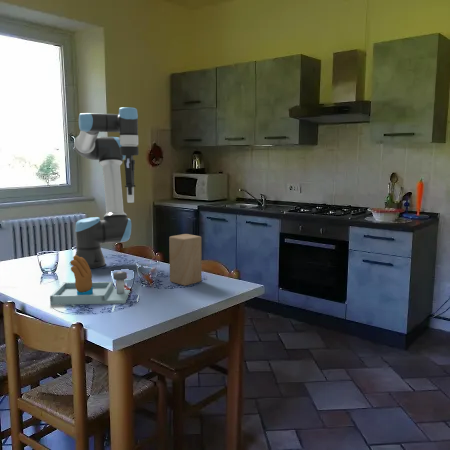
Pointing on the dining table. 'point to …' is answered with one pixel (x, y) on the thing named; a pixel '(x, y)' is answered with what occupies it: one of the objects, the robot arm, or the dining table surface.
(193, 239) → the wooden block
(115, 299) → the tray
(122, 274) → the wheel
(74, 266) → the toy
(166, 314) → the dining table surface
